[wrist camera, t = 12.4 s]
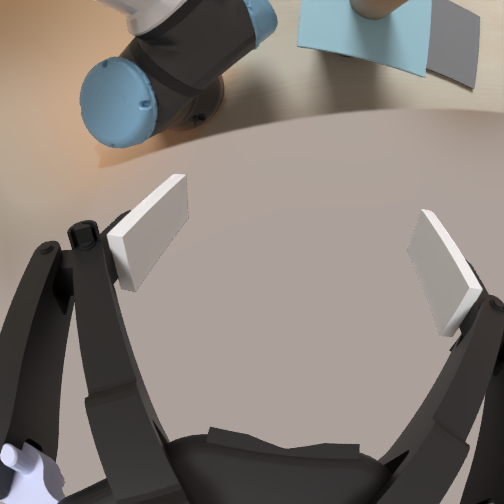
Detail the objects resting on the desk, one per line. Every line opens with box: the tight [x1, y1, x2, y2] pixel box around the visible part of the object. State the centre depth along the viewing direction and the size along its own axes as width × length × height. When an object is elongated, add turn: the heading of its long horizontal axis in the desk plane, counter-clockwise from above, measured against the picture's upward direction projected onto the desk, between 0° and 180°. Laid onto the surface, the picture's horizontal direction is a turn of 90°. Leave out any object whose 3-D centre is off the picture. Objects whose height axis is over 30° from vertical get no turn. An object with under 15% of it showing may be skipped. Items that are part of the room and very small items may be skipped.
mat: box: [426, 0, 480, 89], centre depth 29 cm, size 16×16×1 cm
